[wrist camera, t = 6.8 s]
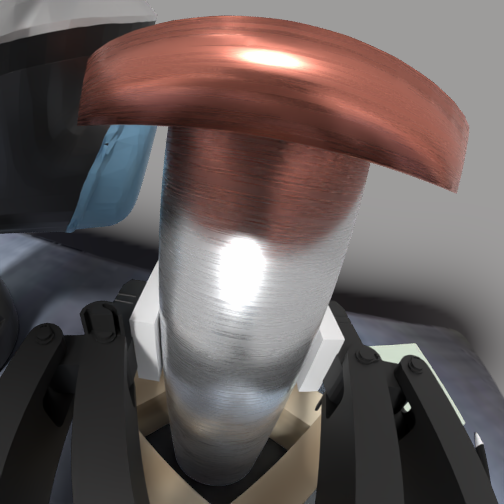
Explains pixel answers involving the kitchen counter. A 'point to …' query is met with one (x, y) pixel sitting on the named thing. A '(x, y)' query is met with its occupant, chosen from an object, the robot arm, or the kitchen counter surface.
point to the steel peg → (259, 200)
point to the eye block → (284, 433)
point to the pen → (481, 454)
